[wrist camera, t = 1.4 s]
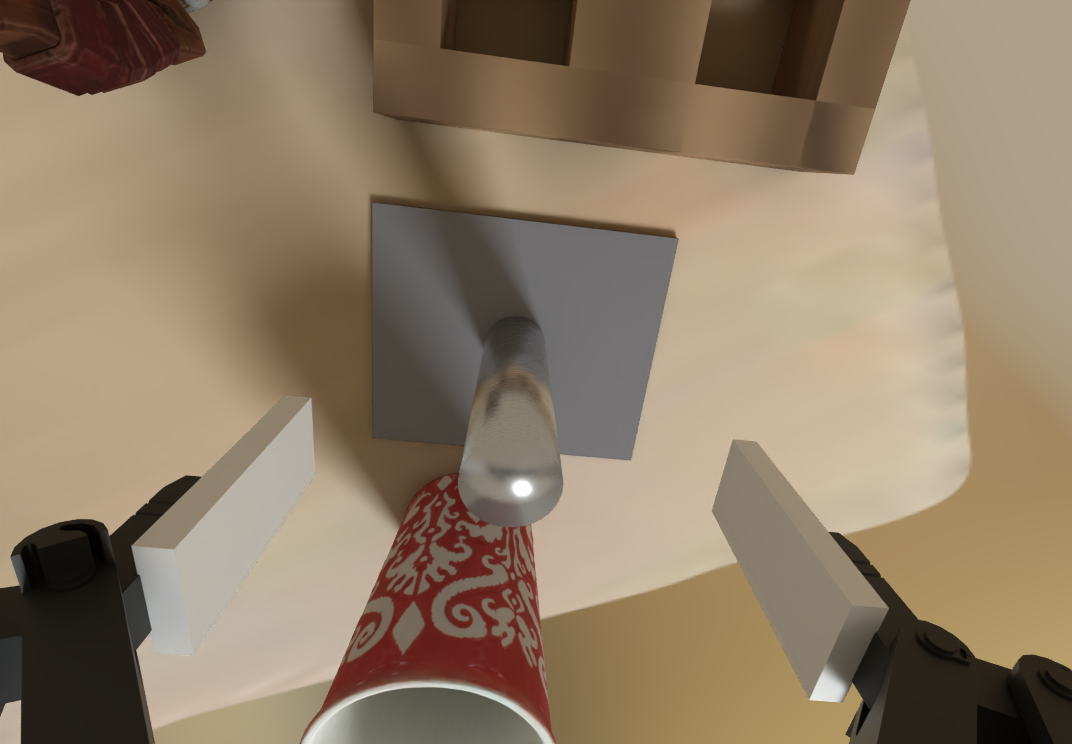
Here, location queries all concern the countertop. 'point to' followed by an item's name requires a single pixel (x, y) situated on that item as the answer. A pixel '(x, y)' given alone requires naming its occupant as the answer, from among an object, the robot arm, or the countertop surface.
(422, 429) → the mat
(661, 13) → the hole block
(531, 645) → the mug
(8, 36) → the mug
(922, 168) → the countertop surface
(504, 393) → the peg
